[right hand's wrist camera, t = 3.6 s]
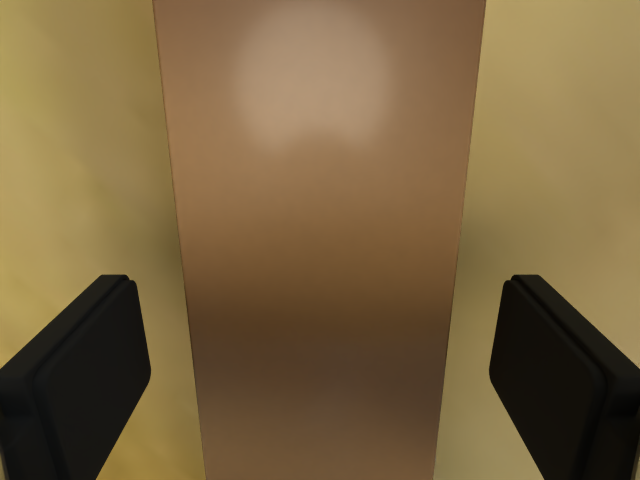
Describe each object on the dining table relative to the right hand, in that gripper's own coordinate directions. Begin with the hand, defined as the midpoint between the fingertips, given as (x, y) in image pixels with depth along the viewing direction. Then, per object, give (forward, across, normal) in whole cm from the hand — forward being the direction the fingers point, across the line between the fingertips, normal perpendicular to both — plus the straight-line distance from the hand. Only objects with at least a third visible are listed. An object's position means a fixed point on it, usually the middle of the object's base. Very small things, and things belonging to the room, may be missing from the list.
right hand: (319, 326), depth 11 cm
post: (+7, 0, +23) cm, 24 cm away
